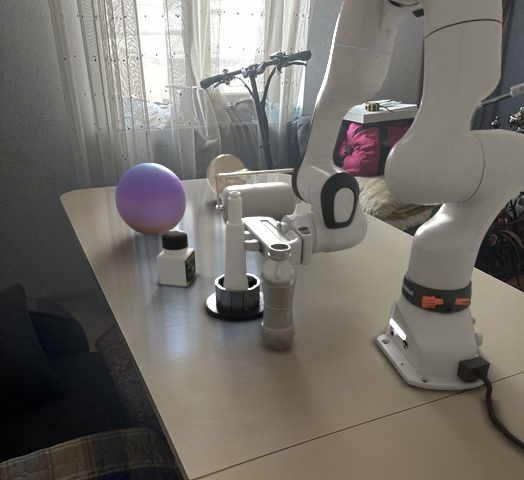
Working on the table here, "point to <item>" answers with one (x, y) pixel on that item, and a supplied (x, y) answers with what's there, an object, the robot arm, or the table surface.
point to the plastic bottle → (278, 297)
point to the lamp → (250, 190)
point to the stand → (236, 301)
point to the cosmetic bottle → (235, 246)
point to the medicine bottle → (176, 259)
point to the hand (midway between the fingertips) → (232, 243)
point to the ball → (150, 199)
